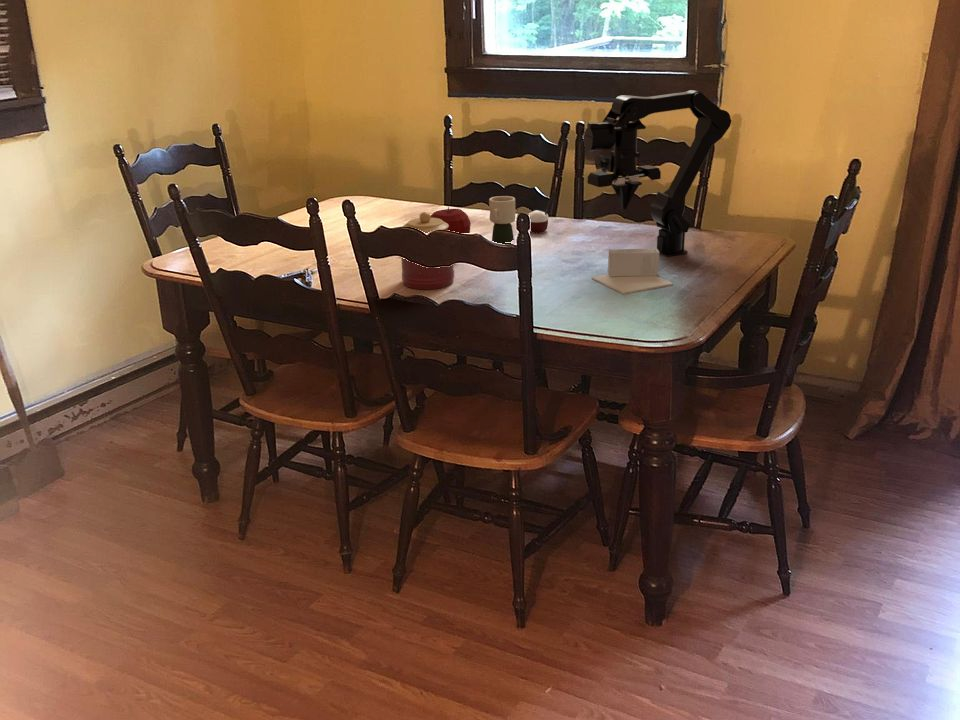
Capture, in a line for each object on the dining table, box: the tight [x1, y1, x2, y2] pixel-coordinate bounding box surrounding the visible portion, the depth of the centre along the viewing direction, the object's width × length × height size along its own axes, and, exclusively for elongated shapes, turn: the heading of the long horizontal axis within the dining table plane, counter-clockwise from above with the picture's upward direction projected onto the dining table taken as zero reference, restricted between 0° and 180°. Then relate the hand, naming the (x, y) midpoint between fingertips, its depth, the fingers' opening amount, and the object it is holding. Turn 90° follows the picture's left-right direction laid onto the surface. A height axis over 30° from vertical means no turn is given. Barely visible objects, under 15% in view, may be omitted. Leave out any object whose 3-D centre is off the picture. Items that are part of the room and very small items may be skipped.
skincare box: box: [607, 247, 660, 277], centre depth 230 cm, size 6×4×12 cm
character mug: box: [488, 195, 516, 245], centre depth 258 cm, size 11×7×13 cm, turn 156°
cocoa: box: [528, 189, 555, 234], centre depth 270 cm, size 10×6×12 cm, turn 62°
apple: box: [430, 206, 472, 234], centre depth 250 cm, size 12×12×13 cm
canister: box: [400, 211, 455, 290], centre depth 228 cm, size 13×13×18 cm
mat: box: [591, 273, 674, 295], centre depth 226 cm, size 14×14×1 cm
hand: (623, 209), depth 240 cm, fingers closed
